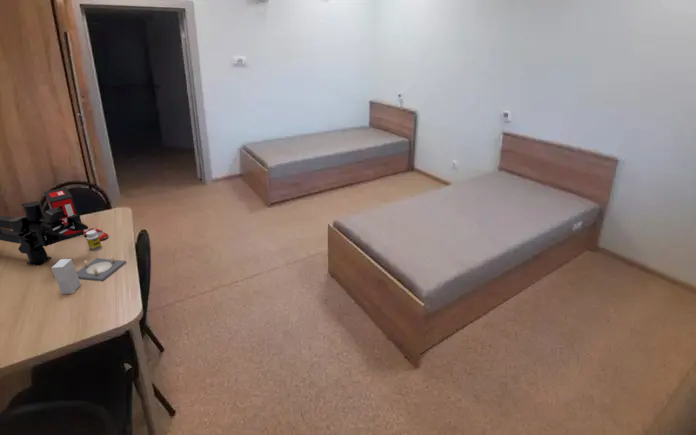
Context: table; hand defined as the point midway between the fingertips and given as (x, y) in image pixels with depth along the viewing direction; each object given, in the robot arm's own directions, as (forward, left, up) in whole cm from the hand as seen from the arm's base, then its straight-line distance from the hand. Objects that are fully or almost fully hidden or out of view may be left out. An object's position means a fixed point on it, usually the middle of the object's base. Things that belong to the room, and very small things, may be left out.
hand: (78, 232), depth 160 cm
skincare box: (+5, -15, -17) cm, 23 cm away
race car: (-17, +25, -17) cm, 35 cm away
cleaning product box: (-34, +28, -17) cm, 47 cm away
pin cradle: (+6, -1, -17) cm, 18 cm away
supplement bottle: (-9, +15, -17) cm, 24 cm away
